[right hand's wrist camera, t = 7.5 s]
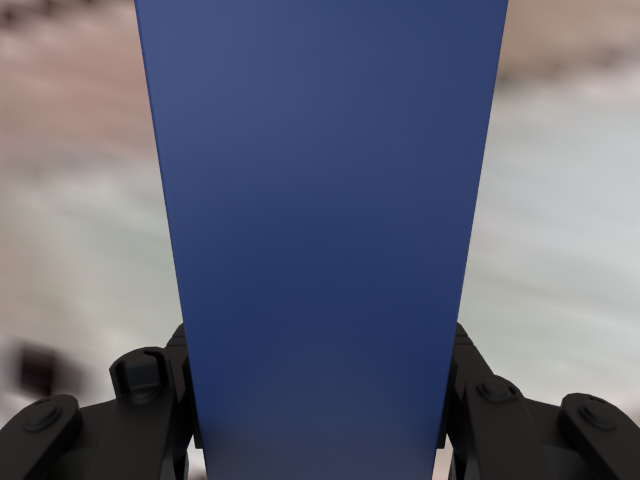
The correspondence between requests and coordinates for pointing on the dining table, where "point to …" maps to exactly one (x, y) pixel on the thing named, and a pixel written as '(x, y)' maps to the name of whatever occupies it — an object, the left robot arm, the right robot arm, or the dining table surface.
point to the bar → (320, 219)
